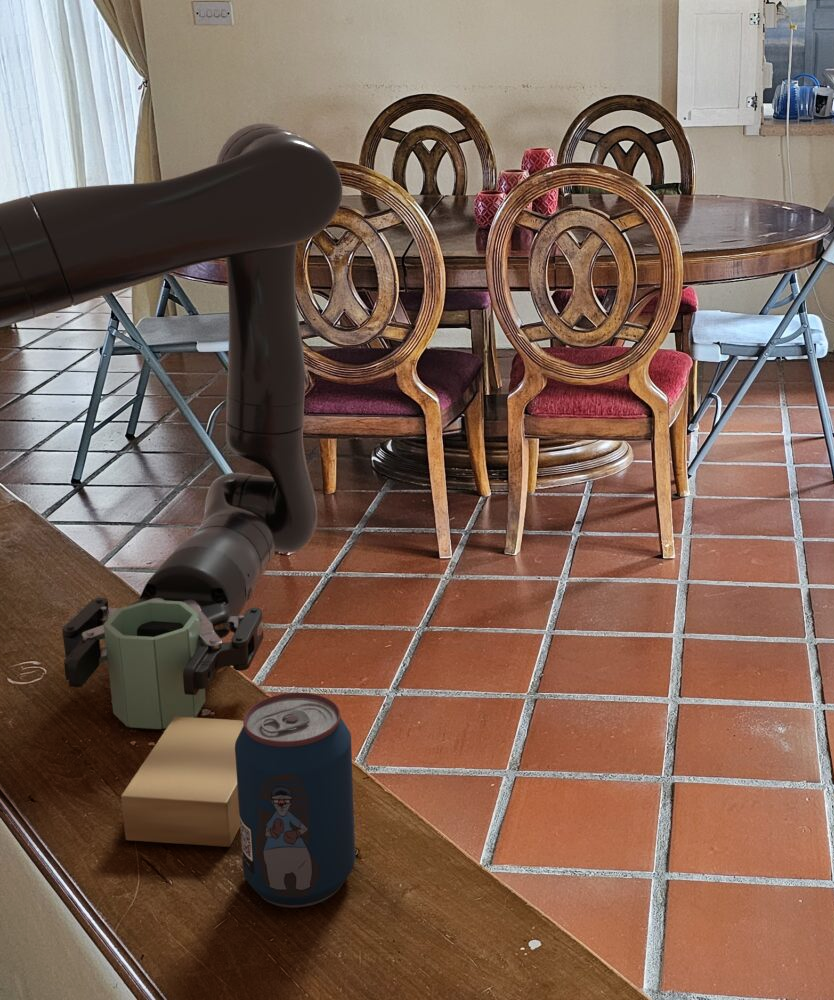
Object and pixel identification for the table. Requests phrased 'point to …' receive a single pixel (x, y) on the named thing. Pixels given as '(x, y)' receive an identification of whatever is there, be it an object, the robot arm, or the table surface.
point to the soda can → (295, 799)
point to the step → (187, 786)
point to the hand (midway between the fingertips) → (130, 680)
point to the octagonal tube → (151, 665)
